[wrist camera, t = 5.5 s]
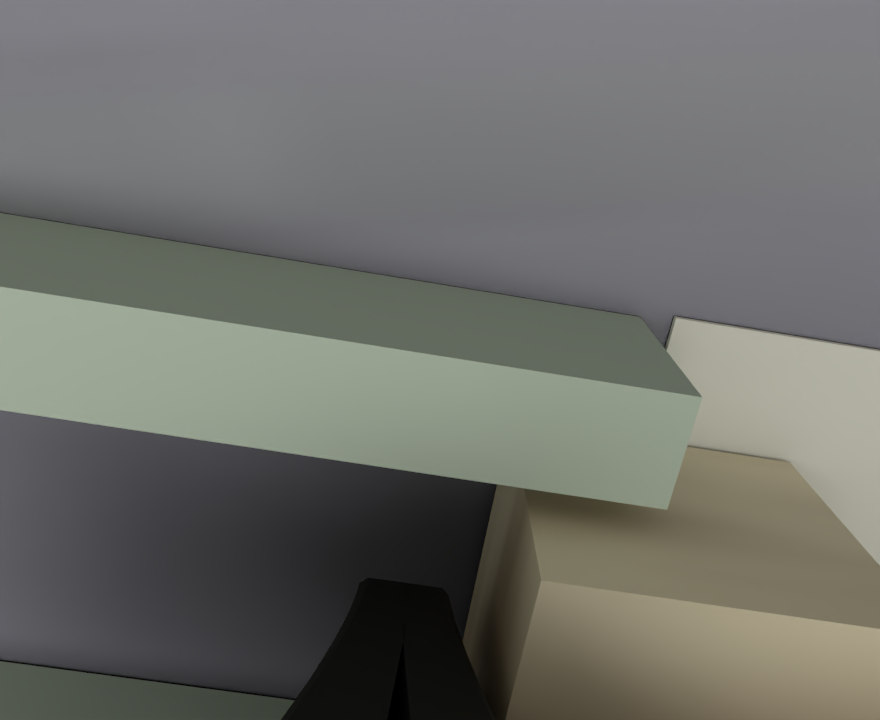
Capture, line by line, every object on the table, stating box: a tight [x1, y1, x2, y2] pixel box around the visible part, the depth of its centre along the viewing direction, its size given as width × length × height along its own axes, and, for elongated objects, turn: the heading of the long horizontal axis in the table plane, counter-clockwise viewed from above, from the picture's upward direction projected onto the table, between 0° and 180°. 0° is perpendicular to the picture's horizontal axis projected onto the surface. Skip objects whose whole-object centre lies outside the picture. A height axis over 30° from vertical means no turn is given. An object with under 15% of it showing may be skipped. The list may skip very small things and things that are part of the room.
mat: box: [665, 316, 880, 565], centre depth 13 cm, size 10×5×1 cm, turn 171°
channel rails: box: [0, 213, 703, 720], centre depth 12 cm, size 10×11×3 cm
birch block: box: [462, 447, 880, 720], centre depth 11 cm, size 6×4×4 cm
